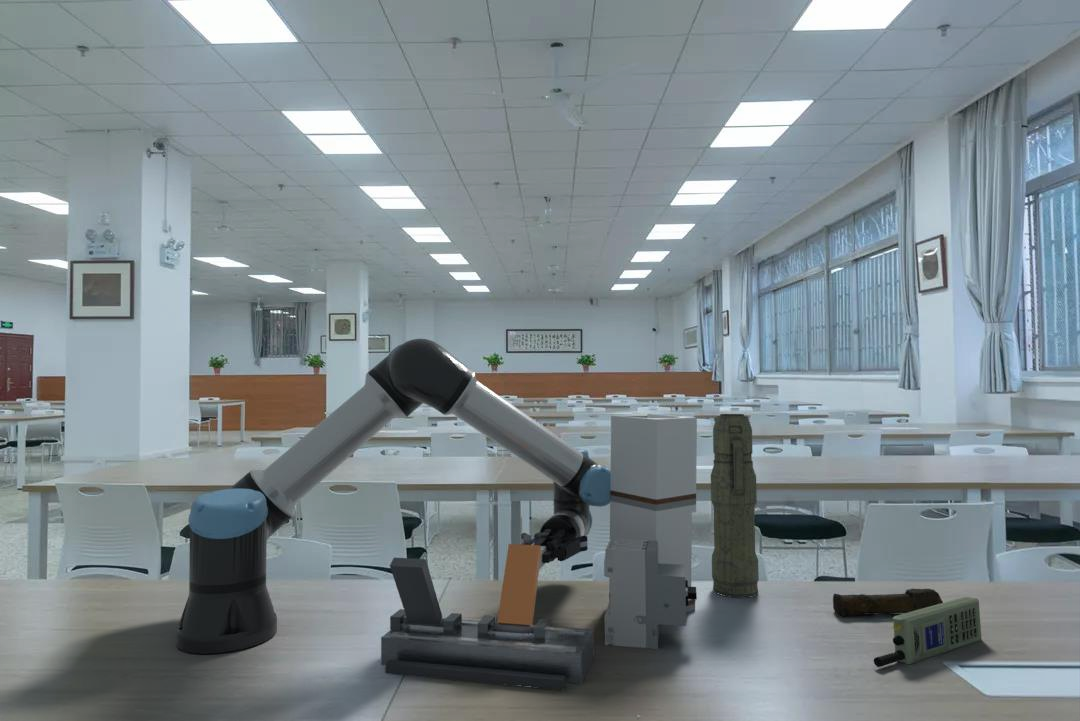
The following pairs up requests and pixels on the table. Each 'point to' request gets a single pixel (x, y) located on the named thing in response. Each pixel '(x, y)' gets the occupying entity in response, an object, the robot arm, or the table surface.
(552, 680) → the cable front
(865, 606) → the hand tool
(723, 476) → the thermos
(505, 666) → the grey slotted holder
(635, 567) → the circuit breaker
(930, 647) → the handheld radio
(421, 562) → the lever on
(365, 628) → the table surface
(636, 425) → the white banded pillar
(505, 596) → the lever
